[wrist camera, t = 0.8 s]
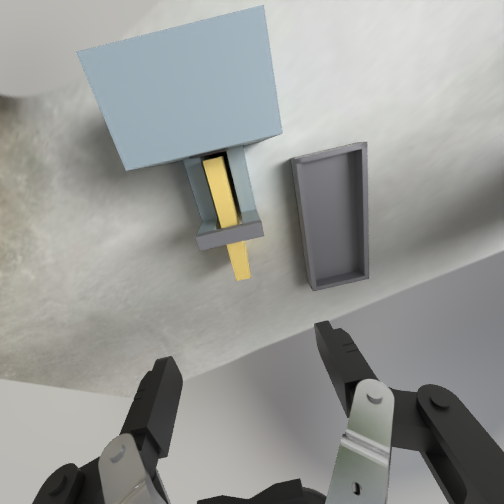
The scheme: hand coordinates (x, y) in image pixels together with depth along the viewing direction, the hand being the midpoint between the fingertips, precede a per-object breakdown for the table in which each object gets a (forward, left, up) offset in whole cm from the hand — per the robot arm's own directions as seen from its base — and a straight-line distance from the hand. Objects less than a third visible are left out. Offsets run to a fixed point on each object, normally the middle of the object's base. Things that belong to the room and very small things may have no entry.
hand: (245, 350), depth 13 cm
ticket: (0, -4, -16) cm, 17 cm away
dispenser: (0, -10, -16) cm, 19 cm away
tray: (-11, 0, -16) cm, 20 cm away
